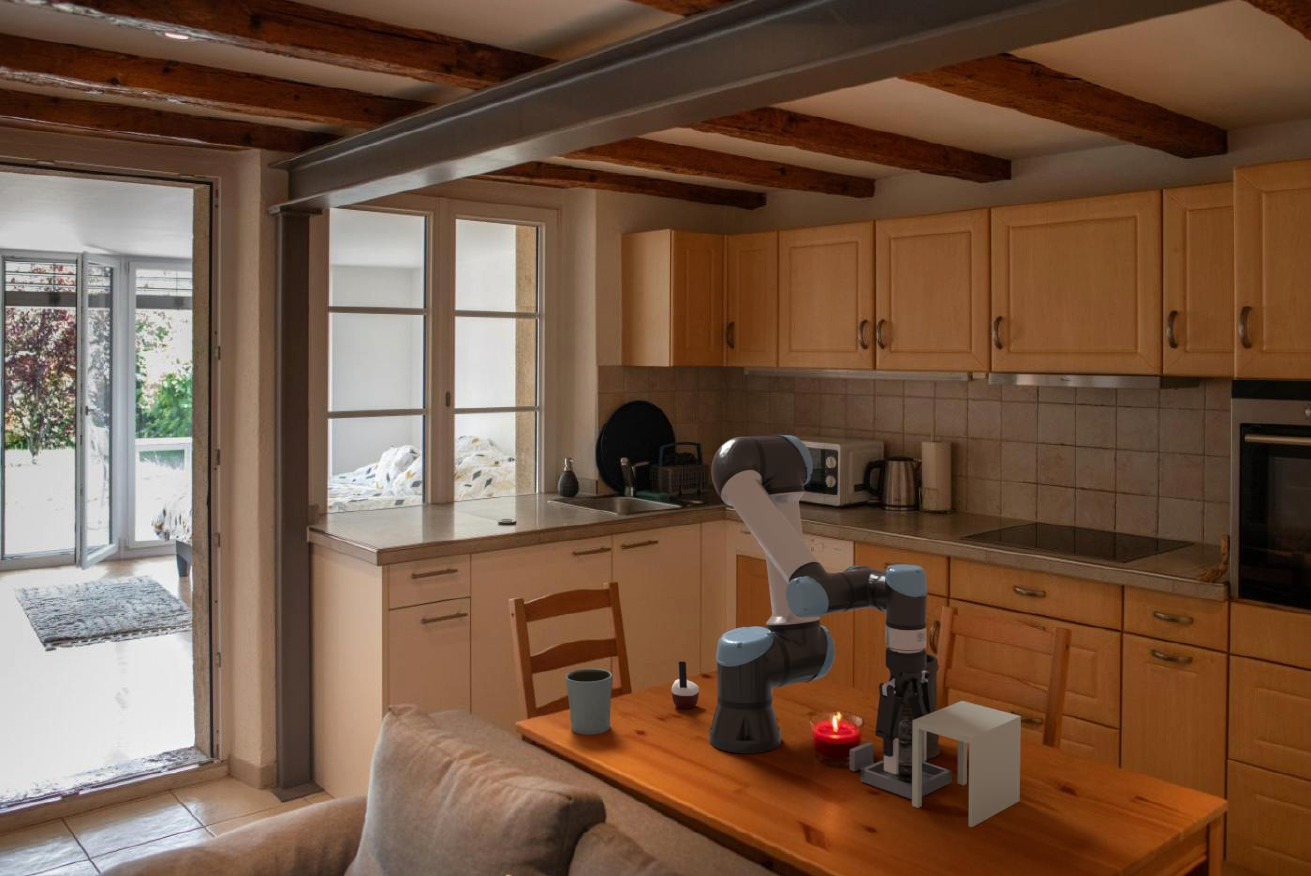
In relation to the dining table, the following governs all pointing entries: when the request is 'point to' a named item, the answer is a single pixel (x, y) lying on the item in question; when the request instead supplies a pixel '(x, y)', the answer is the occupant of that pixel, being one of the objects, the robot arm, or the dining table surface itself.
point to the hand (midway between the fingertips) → (905, 765)
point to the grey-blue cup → (589, 700)
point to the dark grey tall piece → (904, 752)
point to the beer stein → (932, 738)
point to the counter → (975, 755)
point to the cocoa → (684, 690)
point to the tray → (882, 779)
